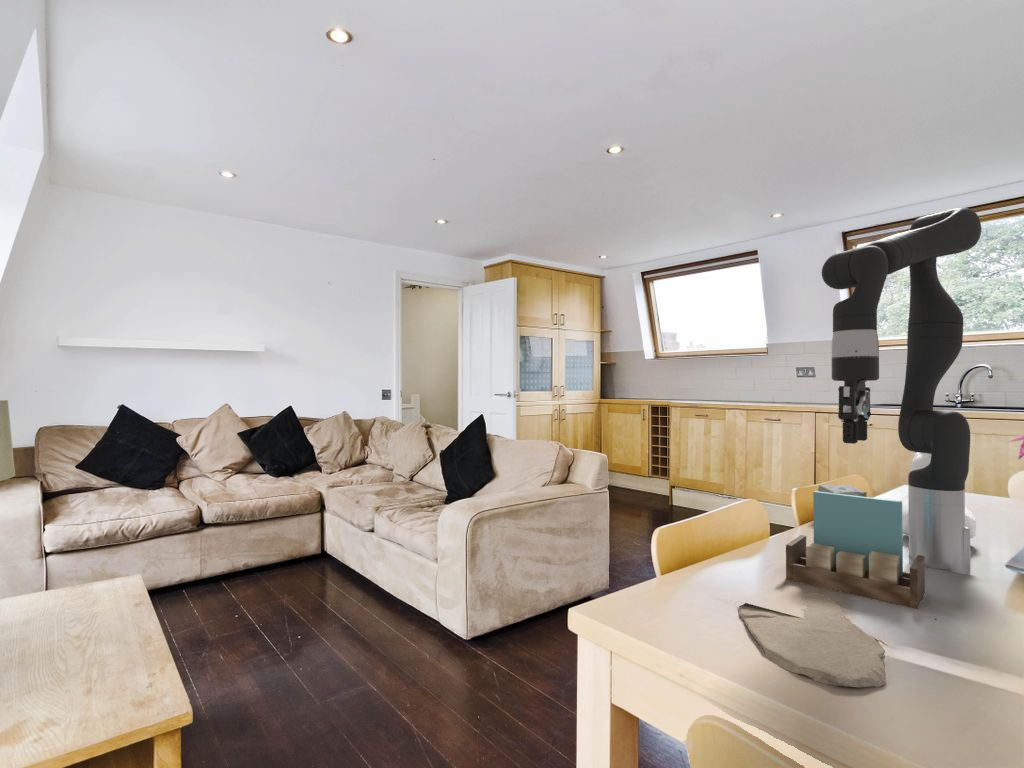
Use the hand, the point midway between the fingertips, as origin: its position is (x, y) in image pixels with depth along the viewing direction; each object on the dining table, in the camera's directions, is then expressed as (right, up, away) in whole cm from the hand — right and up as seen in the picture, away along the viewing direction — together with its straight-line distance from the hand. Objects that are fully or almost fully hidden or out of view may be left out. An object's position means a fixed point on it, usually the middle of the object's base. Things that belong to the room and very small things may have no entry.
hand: (855, 441), depth 100 cm
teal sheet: (0, -26, 0) cm, 26 cm away
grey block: (+28, -29, +50) cm, 64 cm away
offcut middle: (-3, -26, -3) cm, 27 cm away
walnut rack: (-2, -28, -2) cm, 28 cm away
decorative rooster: (+43, -29, +35) cm, 62 cm away
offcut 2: (+1, -26, -7) cm, 27 cm away
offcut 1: (-7, -26, 0) cm, 27 cm away
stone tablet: (-20, -28, -19) cm, 39 cm away
